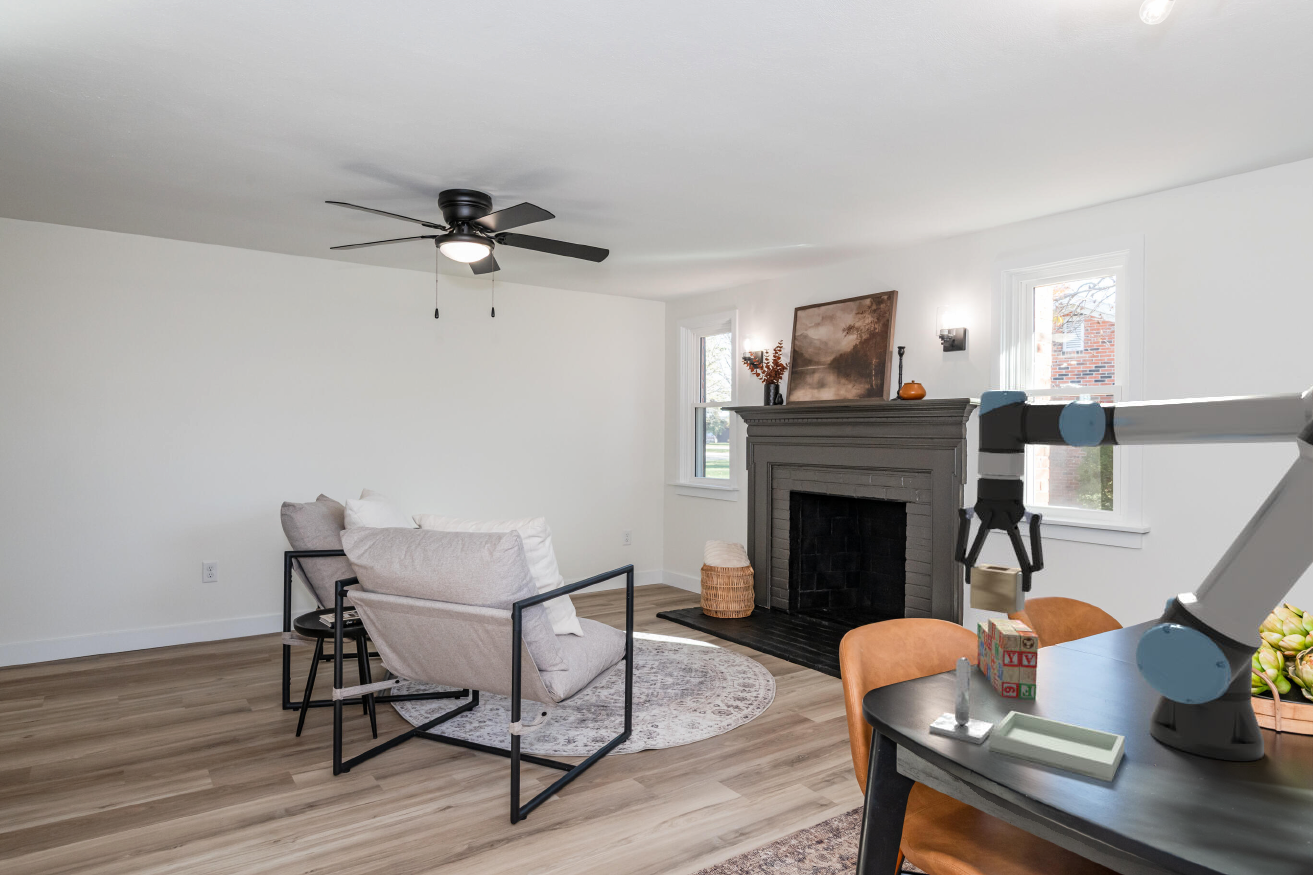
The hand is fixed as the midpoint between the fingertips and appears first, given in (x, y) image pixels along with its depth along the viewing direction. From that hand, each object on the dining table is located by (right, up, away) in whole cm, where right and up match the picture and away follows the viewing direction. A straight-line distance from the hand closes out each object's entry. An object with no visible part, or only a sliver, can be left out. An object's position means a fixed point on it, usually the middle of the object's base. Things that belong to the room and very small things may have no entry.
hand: (996, 605), depth 136 cm
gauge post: (-10, -19, -9) cm, 23 cm away
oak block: (0, 0, 0) cm, 0 cm away
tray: (+2, -19, -16) cm, 25 cm away
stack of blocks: (+10, -20, +19) cm, 29 cm away
